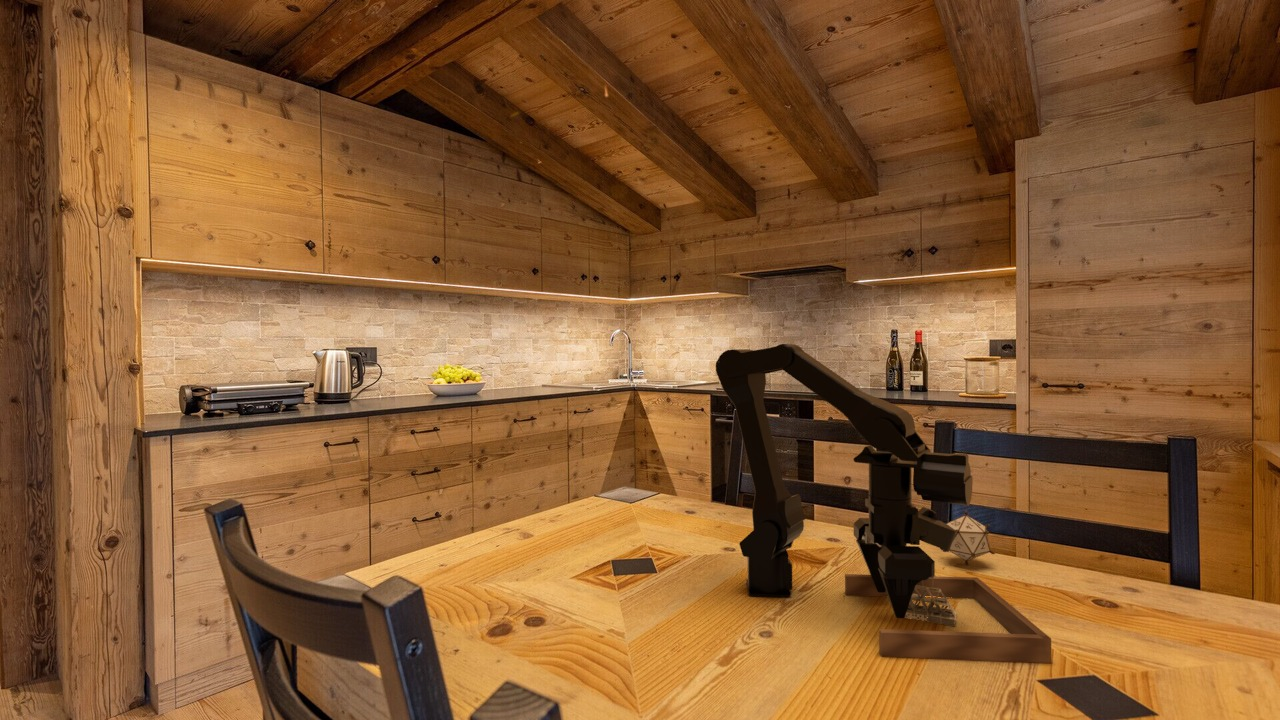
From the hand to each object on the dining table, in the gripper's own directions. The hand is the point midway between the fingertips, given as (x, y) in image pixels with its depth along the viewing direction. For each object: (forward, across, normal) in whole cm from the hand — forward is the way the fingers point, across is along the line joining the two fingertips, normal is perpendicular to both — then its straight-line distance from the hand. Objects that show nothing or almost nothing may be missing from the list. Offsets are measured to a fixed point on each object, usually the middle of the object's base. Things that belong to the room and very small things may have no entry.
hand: (890, 604), depth 90 cm
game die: (+2, +24, -20) cm, 31 cm away
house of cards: (+2, +2, -7) cm, 8 cm away
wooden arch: (+2, -2, -6) cm, 6 cm away
